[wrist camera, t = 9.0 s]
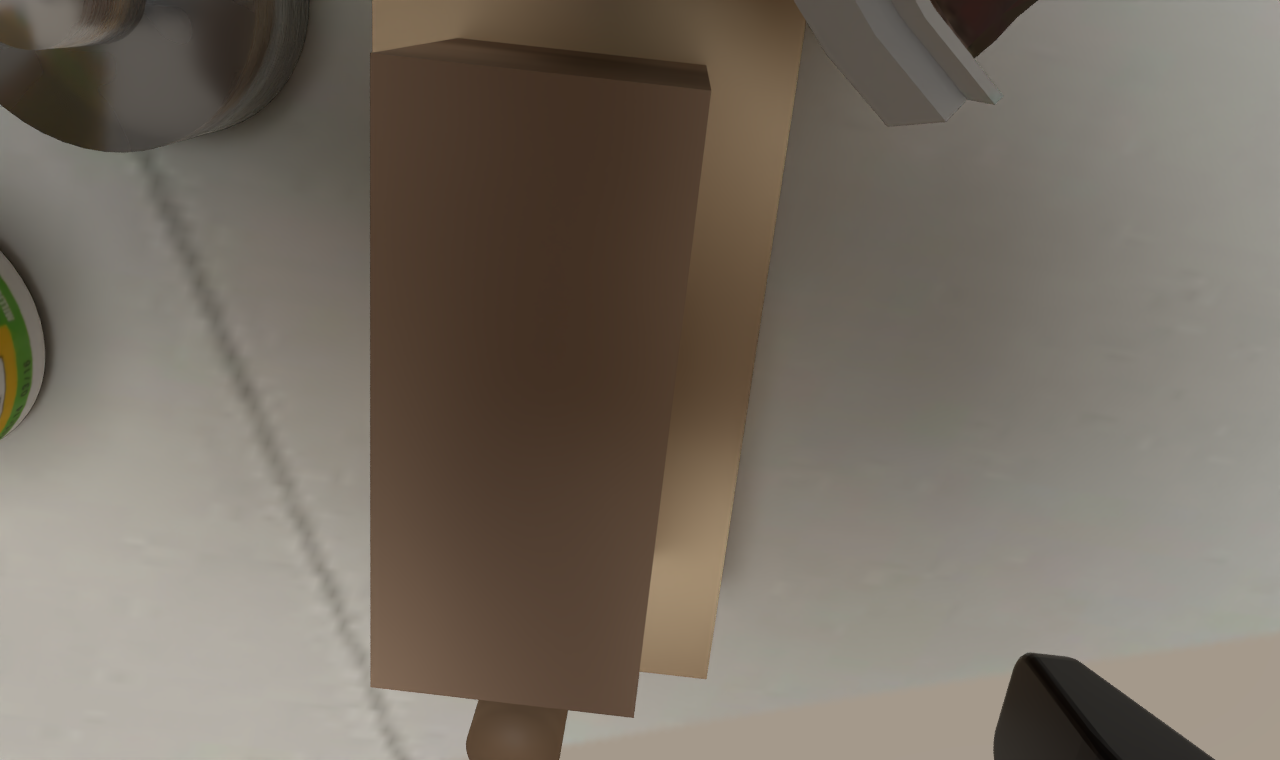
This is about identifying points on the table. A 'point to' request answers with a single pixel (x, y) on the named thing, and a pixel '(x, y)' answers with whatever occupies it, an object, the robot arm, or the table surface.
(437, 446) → the tall brown cuboid
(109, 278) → the table surface
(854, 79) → the food container
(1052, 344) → the table surface
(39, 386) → the supplement bottle
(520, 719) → the peg stand
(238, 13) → the door lever handle
